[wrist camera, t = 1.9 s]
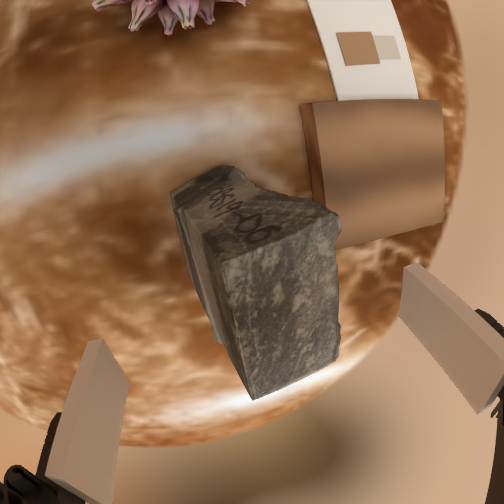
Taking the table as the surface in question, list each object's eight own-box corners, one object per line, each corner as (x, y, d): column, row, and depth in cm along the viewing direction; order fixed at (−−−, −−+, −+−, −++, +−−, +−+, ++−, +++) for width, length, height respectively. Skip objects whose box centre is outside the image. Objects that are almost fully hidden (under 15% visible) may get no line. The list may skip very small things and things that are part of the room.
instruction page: (303, -7, 17) (305, -9, 16) (387, -5, 17) (389, -6, 17) (340, 116, 22) (343, 116, 22) (418, 105, 22) (421, 105, 22)
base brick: (299, 104, 21) (312, 103, 19) (420, 99, 22) (440, 100, 19) (317, 237, 27) (329, 251, 24) (425, 212, 27) (442, 221, 25)
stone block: (222, 161, 23) (158, 176, 21) (348, 193, 11) (215, 229, 9) (239, 261, 27) (183, 279, 25) (342, 360, 14) (253, 404, 13)
